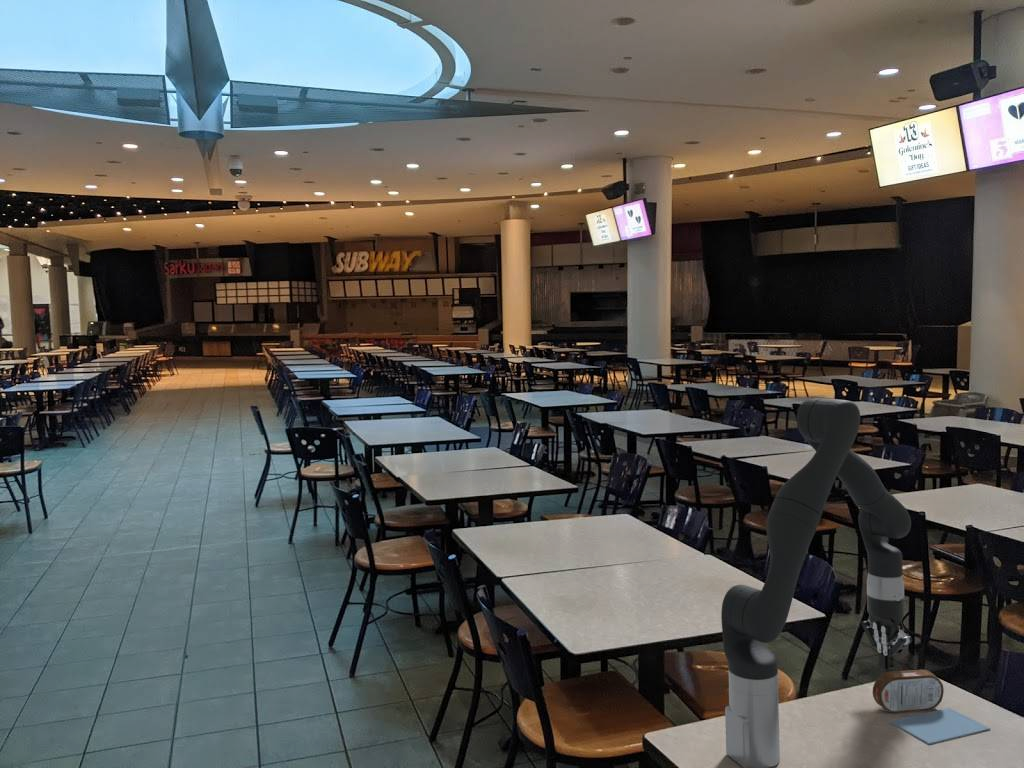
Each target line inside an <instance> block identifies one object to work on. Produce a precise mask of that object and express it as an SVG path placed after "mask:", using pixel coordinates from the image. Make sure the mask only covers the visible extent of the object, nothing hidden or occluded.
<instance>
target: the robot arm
mask: <svg viewBox="0 0 1024 768" xmlns="http://www.w3.org/2000/svg"><path fill="white" fill-rule="evenodd" d="M796 413H797V414H796V426H797V428H798V431H799V433H800V434H801V436H802V437H803V439H804V440H805V441H806V442H807V443H808V445H809V446H810V447H812V448H813V450H814V451H815V453H814V455H813V456H812V458H811V459H810V460H809V461H808V462H807V463H806V464H805V465H804V466H803V467H802V468H801V469H800V470H798V471H797V472H796V473H795V474H794V475H793V476H791V477H790V478H788V480H787V481H786V482H785V483H784V484H783V485H781V487H780V488H779V490H778V491H777V493H776V495H775V497H774V498H773V499H774V500H773V502H772V504H771V506H770V510H769V512H768V515H767V518H766V522H765V525H766V529H765V530H766V539H767V544H768V550H769V556H770V557H769V560H770V561H769V569H768V573H767V574H766V575H767V576H766V578H765V581H764V584H763V587H762V589H758V588H756V587H752V586H749V585H746V584H745V585H744V584H736V585H734V586H732V587H730V588H729V589H728V590H727V592H726V593H725V594H724V595H725V596H724V597H723V600H722V602H721V603H722V604H721V616H720V617H721V632H722V642H723V643H722V644H723V653H724V656H725V658H726V660H727V668H728V699H729V700H728V702H729V703H728V704H729V705H727V706H725V708H724V712H725V713H724V717H725V719H724V720H725V749H726V751H725V753H726V755H727V756H728V757H729V758H731V759H732V760H733V761H735V763H737V764H738V765H739V766H740V767H742V768H773V767H775V766H777V765H779V763H780V761H781V749H780V748H781V747H780V745H781V744H780V743H781V742H780V711H779V706H780V705H779V704H780V703H779V671H778V670H779V669H778V668H779V665H778V659H777V656H776V655H775V654H774V653H773V652H772V651H771V650H770V649H769V648H768V647H767V645H765V644H767V643H772V642H774V640H776V639H778V637H779V636H780V635H781V633H782V632H783V630H784V627H785V625H786V622H787V619H788V616H789V613H790V610H791V605H792V602H793V598H794V594H795V592H796V591H795V590H796V586H797V582H798V580H799V576H800V573H801V570H802V567H803V565H804V561H805V559H806V557H807V553H808V550H809V547H810V545H811V543H812V540H813V538H814V537H815V534H816V531H817V530H818V529H817V528H818V525H819V523H820V521H821V518H822V515H823V512H824V510H825V507H826V503H827V500H828V498H829V496H830V493H831V491H832V488H833V485H834V483H835V482H836V481H835V480H836V478H837V477H838V479H839V480H840V481H841V483H842V485H843V486H844V487H845V489H846V491H847V493H848V494H849V496H850V498H851V499H852V501H853V503H854V505H855V506H856V507H857V508H859V509H860V510H859V513H858V517H857V518H858V519H857V521H858V526H859V530H860V533H861V537H862V540H863V544H864V547H865V550H866V553H867V555H866V556H867V579H866V594H867V595H866V604H867V605H866V606H867V609H866V610H867V613H868V614H869V616H868V619H867V620H864V621H863V620H862V621H861V626H862V628H863V631H864V632H865V635H866V636H867V639H868V641H869V644H870V645H871V647H872V648H875V649H877V652H878V655H879V656H878V657H879V659H878V660H879V661H878V663H879V669H881V670H882V671H885V673H887V672H893V670H894V667H895V656H896V655H901V654H903V652H904V651H905V650H906V649H907V647H908V646H909V645H910V644H911V643H912V642H913V638H912V636H911V635H907V634H906V633H905V631H904V625H903V618H904V616H905V583H904V575H903V553H902V552H901V550H900V548H897V547H896V546H894V545H891V544H889V543H888V542H887V541H886V539H885V538H890V539H901V538H904V537H906V536H907V535H908V534H909V532H910V531H911V527H912V520H911V519H912V518H911V516H910V514H909V511H908V510H907V508H906V507H905V506H904V505H903V504H902V502H900V501H899V500H898V499H897V498H896V497H895V496H894V495H893V494H892V493H890V492H889V491H888V490H887V489H886V487H885V486H884V484H883V483H882V481H881V479H880V477H879V475H878V474H877V472H876V471H875V469H874V468H873V467H872V466H871V465H870V464H869V463H868V462H867V461H865V459H863V458H862V457H861V456H859V454H857V453H856V452H854V451H853V449H852V447H853V444H854V442H855V440H856V439H857V435H858V432H859V429H860V424H861V413H860V409H859V406H858V405H857V404H856V403H855V402H853V401H851V400H846V399H836V398H834V399H833V398H823V397H822V398H820V397H815V398H814V397H813V398H808V399H806V400H804V401H803V402H802V403H801V404H800V405H799V407H798V409H797V412H796Z"/></svg>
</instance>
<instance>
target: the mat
mask: <svg viewBox="0 0 1024 768" xmlns="http://www.w3.org/2000/svg"><path fill="white" fill-rule="evenodd" d="M889 723H890V724H892V725H893V726H895V727H897V728H899V729H901V730H902V731H904V732H905V733H908V734H910V735H911V736H913V737H915V738H917V739H919V741H920V740H921V741H922V742H924V743H925V744H927V745H930V746H931V745H933V744H937V743H941V742H946V741H949V740H950V741H951V740H954V739H957V738H958V739H959V738H962V737H965V736H969V735H974V734H978V733H982V732H986V731H990V730H991V727H988V726H987V725H985V724H983V723H981V722H979V721H977V720H974V719H973V718H970V717H969V716H966V715H965V714H964V713H961V712H959V711H957V710H955V709H953V708H951V707H947V708H946V707H945V708H941V709H938V710H934V711H929V712H926V713H920V714H916V715H912V716H908V717H903V718H899V719H895V720H890V721H889Z"/></svg>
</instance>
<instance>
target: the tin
mask: <svg viewBox="0 0 1024 768" xmlns="http://www.w3.org/2000/svg"><path fill="white" fill-rule="evenodd" d="M944 690H945V688H944V685H943V683H942V681H941V680H940V678H938V677H937V676H936V675H935V674H934V673H933V672H931V671H929V670H928V669H927V670H926V669H913V670H897V671H893V670H892V671H887V672H884V673H882V674H881V675H880V676H878V677H877V679H876V680H875V682H874V683H873V686H872V697H873V700H874V701H875V703H876V704H877V705H878V706H880V707H881V708H882V709H884V710H885V711H887V712H888V713H893V714H894V713H895V714H896V713H911V712H926V711H931V710H933V709H935V708H937V707H938V706H939V705H940V704H941V702H942V700H943V697H944V693H945V691H944Z"/></svg>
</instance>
